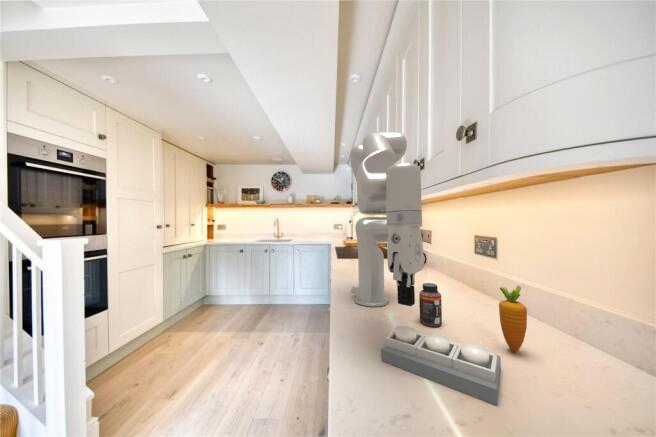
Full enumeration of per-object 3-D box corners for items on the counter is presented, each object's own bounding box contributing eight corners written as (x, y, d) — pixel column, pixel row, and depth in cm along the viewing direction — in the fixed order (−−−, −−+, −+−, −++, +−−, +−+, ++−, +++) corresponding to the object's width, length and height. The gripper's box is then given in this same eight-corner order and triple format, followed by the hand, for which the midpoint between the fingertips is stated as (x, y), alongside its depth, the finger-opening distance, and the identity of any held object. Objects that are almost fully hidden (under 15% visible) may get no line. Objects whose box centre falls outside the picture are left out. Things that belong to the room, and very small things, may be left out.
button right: (459, 361, 43) (459, 350, 43) (463, 350, 47) (463, 340, 47) (488, 370, 40) (487, 358, 40) (490, 358, 44) (489, 347, 44)
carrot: (498, 352, 52) (496, 285, 53) (502, 344, 56) (500, 281, 56) (527, 361, 49) (524, 289, 49) (529, 352, 53) (527, 285, 53)
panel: (381, 360, 50) (381, 340, 50) (402, 338, 59) (402, 322, 59) (497, 405, 37) (496, 378, 37) (500, 368, 47) (500, 347, 47)
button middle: (422, 349, 47) (422, 339, 47) (429, 341, 51) (429, 331, 51) (446, 357, 45) (446, 346, 45) (451, 347, 48) (451, 337, 48)
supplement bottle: (444, 328, 65) (443, 287, 65) (421, 327, 66) (421, 286, 66) (438, 320, 71) (438, 282, 71) (418, 318, 72) (417, 281, 72)
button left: (392, 339, 51) (392, 330, 51) (400, 332, 55) (399, 323, 55) (412, 346, 49) (412, 336, 49) (419, 338, 52) (419, 329, 52)
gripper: (408, 218, 44) (411, 318, 43) (431, 220, 56) (433, 299, 55) (372, 220, 49) (374, 310, 48) (400, 221, 60) (402, 294, 59)
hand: (406, 304), depth 51 cm, fingers closed
